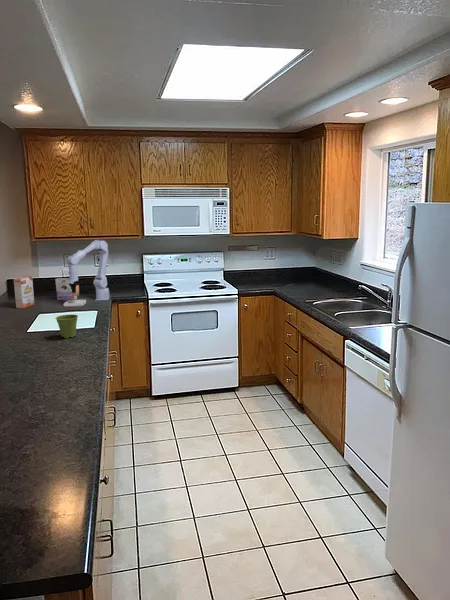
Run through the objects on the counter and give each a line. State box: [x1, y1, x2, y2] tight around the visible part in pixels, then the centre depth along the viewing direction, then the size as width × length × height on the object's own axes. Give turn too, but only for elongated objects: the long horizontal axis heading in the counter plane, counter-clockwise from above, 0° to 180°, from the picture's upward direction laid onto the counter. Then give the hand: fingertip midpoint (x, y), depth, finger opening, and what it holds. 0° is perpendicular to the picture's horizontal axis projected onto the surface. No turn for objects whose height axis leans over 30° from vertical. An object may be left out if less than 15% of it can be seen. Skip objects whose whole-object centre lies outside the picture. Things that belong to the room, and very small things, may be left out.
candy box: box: [54, 277, 78, 302], centre depth 367 cm, size 14×6×16 cm, turn 84°
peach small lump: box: [72, 284, 80, 297], centre depth 350 cm, size 5×5×7 cm
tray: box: [63, 299, 87, 307], centre depth 352 cm, size 13×13×2 cm
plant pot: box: [54, 314, 79, 339], centre depth 266 cm, size 12×12×11 cm
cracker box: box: [13, 275, 35, 310], centre depth 346 cm, size 14×6×21 cm, turn 168°
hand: (74, 292), depth 350 cm, fingers closed on peach small lump, 5 cm apart
